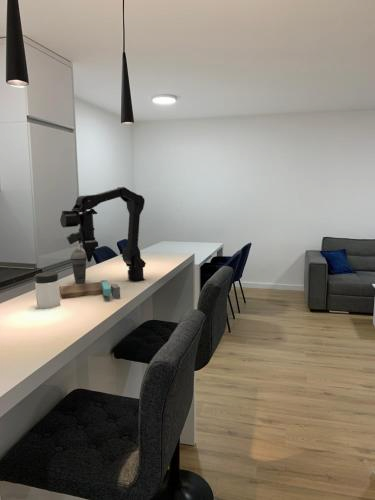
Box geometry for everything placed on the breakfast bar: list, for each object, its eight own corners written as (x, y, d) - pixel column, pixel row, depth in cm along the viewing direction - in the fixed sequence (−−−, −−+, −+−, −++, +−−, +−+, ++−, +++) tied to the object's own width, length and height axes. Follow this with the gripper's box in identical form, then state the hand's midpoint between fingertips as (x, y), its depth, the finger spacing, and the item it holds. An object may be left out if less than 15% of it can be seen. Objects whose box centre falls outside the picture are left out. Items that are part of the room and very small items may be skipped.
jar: (62, 306, 149) (59, 274, 147) (38, 310, 145) (35, 277, 143) (58, 300, 157) (55, 270, 155) (36, 304, 153) (33, 273, 151)
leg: (100, 286, 168) (100, 280, 168) (107, 285, 169) (107, 280, 168) (104, 295, 153) (103, 289, 153) (111, 294, 154) (111, 288, 153)
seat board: (106, 285, 179) (106, 281, 179) (111, 292, 166) (111, 288, 166) (59, 291, 172) (59, 286, 172) (61, 299, 159) (61, 294, 159)
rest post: (117, 294, 163) (116, 283, 162) (120, 298, 157) (119, 287, 157) (111, 295, 162) (110, 284, 161) (114, 299, 156) (113, 287, 156)
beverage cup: (84, 284, 182) (81, 241, 179) (69, 284, 184) (66, 241, 181) (91, 281, 189) (88, 239, 186) (76, 280, 191) (73, 239, 188)
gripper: (65, 225, 175) (67, 260, 178) (68, 228, 158) (71, 267, 160) (91, 223, 179) (93, 257, 182) (97, 226, 162) (99, 264, 164)
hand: (89, 261), depth 172 cm, fingers closed
